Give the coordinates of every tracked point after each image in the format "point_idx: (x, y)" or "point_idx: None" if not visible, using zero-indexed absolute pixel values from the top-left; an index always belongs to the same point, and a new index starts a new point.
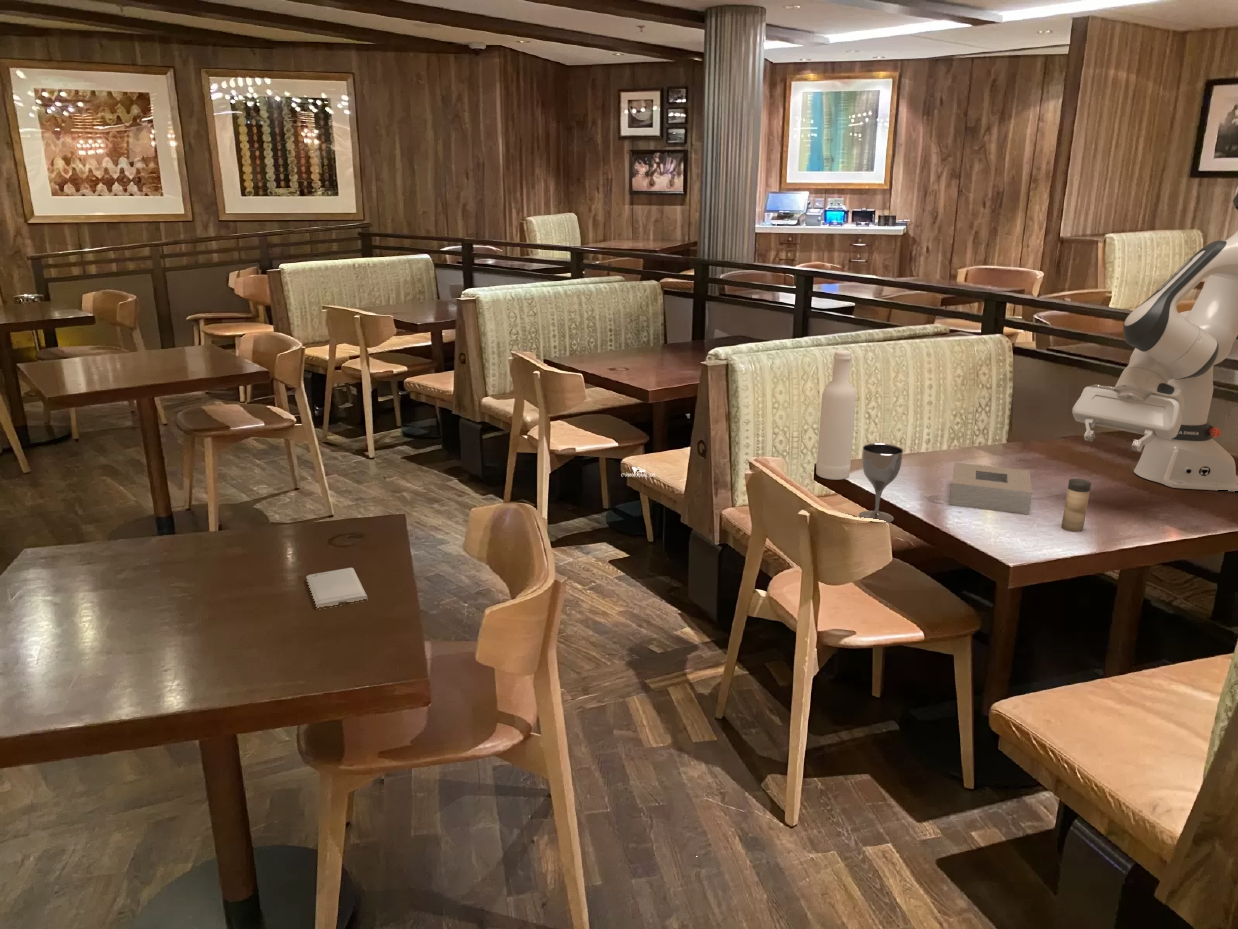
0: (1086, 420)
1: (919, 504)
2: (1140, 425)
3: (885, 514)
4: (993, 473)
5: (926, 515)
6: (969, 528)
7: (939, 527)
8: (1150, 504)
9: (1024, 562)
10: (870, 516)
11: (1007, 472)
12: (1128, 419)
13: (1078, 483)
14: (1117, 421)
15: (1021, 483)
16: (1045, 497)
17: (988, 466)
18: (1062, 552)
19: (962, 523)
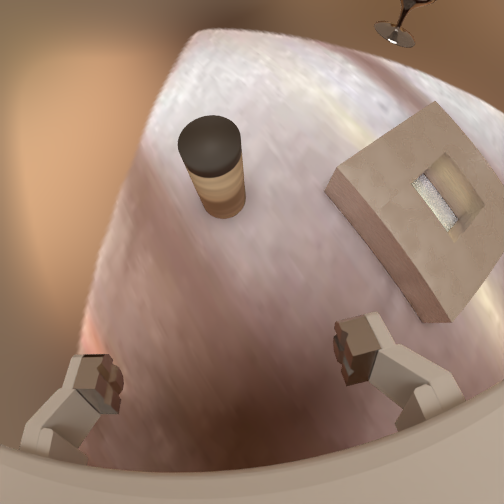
0: (450, 384)
1: (427, 96)
2: (59, 461)
3: (394, 36)
4: (468, 225)
5: (384, 67)
6: (318, 66)
7: (338, 46)
8: None
9: (190, 42)
10: (391, 24)
11: (462, 255)
12: (142, 500)
13: (203, 125)
14: (231, 472)
15: (396, 207)
16: None
17: (497, 256)
18: (172, 95)
19: (339, 73)
